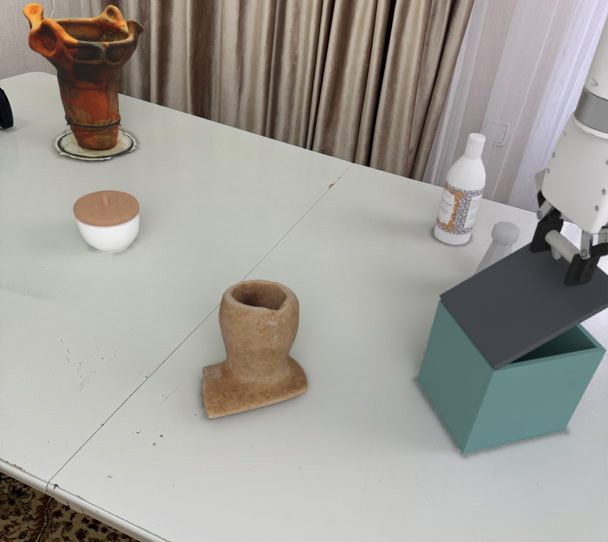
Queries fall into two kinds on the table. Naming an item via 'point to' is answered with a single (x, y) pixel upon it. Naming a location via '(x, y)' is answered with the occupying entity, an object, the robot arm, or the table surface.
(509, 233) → the salt shaker
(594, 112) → the robot arm
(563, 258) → the dark gray box lid
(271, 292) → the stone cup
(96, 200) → the trinket box
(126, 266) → the table surface
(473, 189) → the bath foam
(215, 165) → the table surface
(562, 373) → the teal storage box
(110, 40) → the decorative vase
